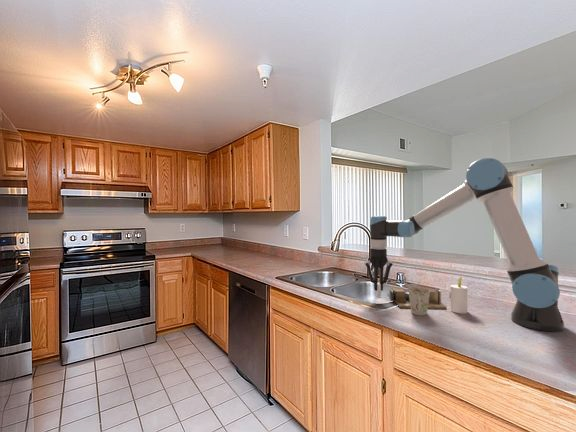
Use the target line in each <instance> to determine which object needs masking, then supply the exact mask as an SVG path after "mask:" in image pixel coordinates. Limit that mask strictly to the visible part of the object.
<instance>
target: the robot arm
mask: <svg viewBox="0 0 576 432" xmlns="http://www.w3.org/2000/svg"><path fill="white" fill-rule="evenodd" d="M509 176H510V175H509V171H508V168H507V167H506V166H505V165H504V164H503V163H502V161H500V160H498V159H496V158H491V157H483V158H480V159H477V160H475V161H474V162H472V163H471V164H470V165H469V166H468V168H467V170H466V173H465V180H464V183H463V184H462V185H460V186H458V187H457V188H455V189H454V190H452V191H449V193H447V194H446V195H444V196H442V197H441V198H439V199H437V200H436V201H434V202H433V203H431V204H430V205H428V206H426V207H425V208H423V209H422V210H420V211H419V212H417V213H415V214H413V215H412V216H410V217H409V218H407V219H400V220H399V219H398V220H394V219H392V220H391V219H387V218H388V217H387V216H386V215H371V217H370V223H369V224H370V225H369V227H370V232H369V233H370V235H369V236H370V238H369V239H370V241H369V242H370V243H369V245H370V251H369V252H370V253H369V259H368V261H365V262H364V266H366V269H367V273H368V278H369V281H370V282H371V283H372V284H373V289H374V291H375V292H376V293H375V295H376V296H375V297H376V298H377V299H381V298H382V296H381V294H382V293H381V292H382V291H384V284H387V282H388V279H389V275H390V272H391V268H392V266H393V264H394V263H393V262H391V261H389V260H388V254H387V253H388V249H387V247H388V246H387V244H388V239H387V238H388V237H394V238H395V237H396V238H412V237H413V236H414V235H417V234H418V233H419V232H420V231H421V230H423V229H424V228H426V227H428V226H430V225H431V224H434V223H435V222H436V221H438V220H441V219H442V218H444V217H445V216H447V215H449V214H450V213H452V212H454V211H456V210H457V209H460V208H461V207H463V206H464V205H466V204H468V203H469V202H472V201H473V200H474V199H476V200H477V201H480V202H482V203H483V205H484V207H485V210H486V212H487V214H488V216H489V219H490V222H491V224H492V226H493V229H494V231H495V233H496V236H497V239H498V241H499V244H500V245H501V247H502V250H503V253H504V255H505V257H506V260H507V262H508V266H507V268H506V272H507V275H508V277H509V280H510V283H511V285H512V287H511V290H512V292H513V295H514V296H515V298H516V301H515V302H516V303H515V305H514V307H513V309H512V312H511V316H510V318H511V321H512V322H513V323H515V324H517V325H519V326H522V327H524V328H525V327H526V328H528V329H532V330H537V331H543V332H551V333H554V332H556V333H557V332H562V331H563V332H564V330H565V322H564V320H563V317H562V315H561V312H560V309H559V306H558V305H559V303H558V302H559V298H560V293H561V291H560V288H559V274H560V273H559V268H558V266H557V265H554V264H548V261H545V260H543V259H541V258H540V256H539V255H538V253H537V250H536V248H535V246H534V243H533V241H532V239H531V237H530V235H529V232H528V230H527V228H526V226H525V223H524V221H523V219H522V216H521V214H520V213H519V210H518V208H517V206H516V203H515V201H514V198H513V196H512V194H511V193H512V191H513V189H514V186H513V184H512V181H511V179H510V177H509ZM371 265H372V267H373V273H372V268H371ZM384 267H385V271H384ZM378 273H379V274H378ZM378 275H379V276H378ZM378 278H379V279H378Z"/></svg>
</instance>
